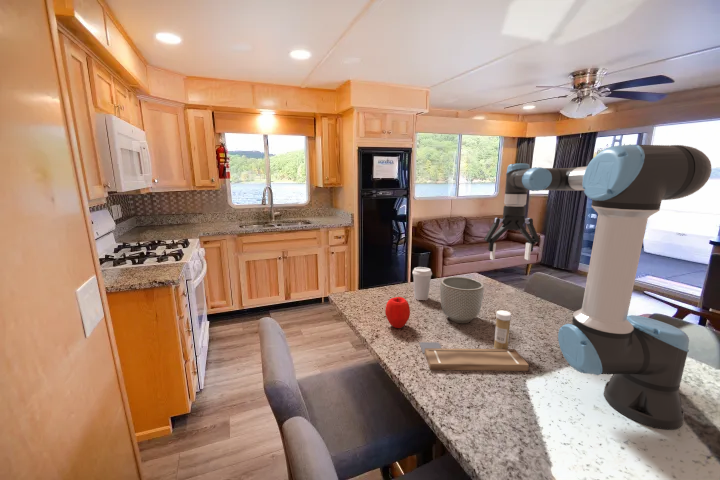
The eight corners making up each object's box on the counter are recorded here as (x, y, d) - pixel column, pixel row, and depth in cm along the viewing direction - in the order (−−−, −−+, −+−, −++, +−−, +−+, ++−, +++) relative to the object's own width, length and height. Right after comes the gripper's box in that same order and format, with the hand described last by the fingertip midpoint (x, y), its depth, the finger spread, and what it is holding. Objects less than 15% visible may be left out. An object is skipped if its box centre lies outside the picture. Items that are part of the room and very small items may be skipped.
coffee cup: (433, 297, 154) (435, 268, 151) (427, 303, 146) (428, 273, 143) (415, 293, 159) (416, 265, 156) (408, 299, 151) (409, 270, 148)
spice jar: (510, 349, 106) (514, 313, 103) (502, 353, 103) (506, 316, 101) (498, 344, 110) (501, 308, 107) (490, 347, 107) (493, 311, 105)
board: (528, 370, 94) (528, 364, 94) (430, 369, 94) (430, 363, 94) (514, 354, 103) (514, 348, 103) (424, 353, 103) (424, 348, 103)
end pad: (443, 353, 103) (443, 353, 103) (423, 353, 103) (423, 352, 103) (438, 343, 110) (438, 342, 110) (419, 342, 110) (419, 342, 110)
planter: (430, 318, 130) (432, 282, 127) (452, 307, 142) (454, 273, 139) (467, 332, 118) (470, 293, 115) (489, 319, 129) (492, 283, 126)
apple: (391, 318, 130) (392, 291, 127) (413, 324, 125) (414, 295, 122) (380, 328, 121) (381, 298, 119) (403, 334, 116) (404, 304, 114)
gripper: (542, 204, 120) (536, 257, 124) (478, 204, 121) (474, 256, 125) (553, 206, 113) (547, 262, 117) (485, 206, 114) (481, 261, 117)
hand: (509, 259), depth 121 cm, fingers open, 13 cm apart
